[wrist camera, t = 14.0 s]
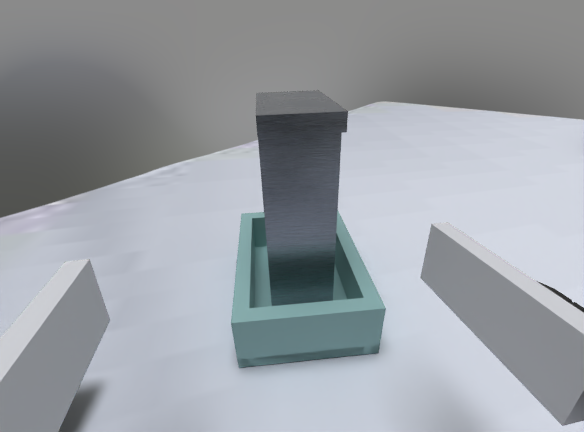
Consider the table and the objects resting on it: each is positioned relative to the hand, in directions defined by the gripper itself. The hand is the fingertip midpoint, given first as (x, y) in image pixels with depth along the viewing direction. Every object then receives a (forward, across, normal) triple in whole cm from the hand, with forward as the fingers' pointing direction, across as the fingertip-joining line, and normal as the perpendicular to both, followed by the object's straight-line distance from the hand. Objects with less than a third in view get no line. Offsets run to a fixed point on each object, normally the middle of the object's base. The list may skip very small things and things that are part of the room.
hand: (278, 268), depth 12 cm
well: (+10, +3, -9) cm, 14 cm away
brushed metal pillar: (+10, +3, -8) cm, 13 cm away
